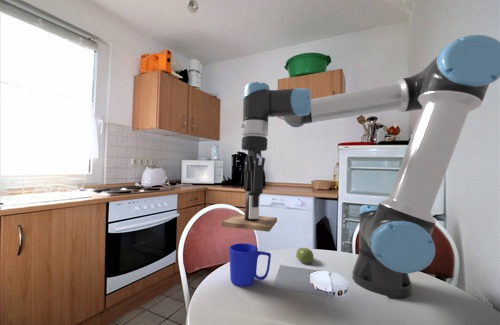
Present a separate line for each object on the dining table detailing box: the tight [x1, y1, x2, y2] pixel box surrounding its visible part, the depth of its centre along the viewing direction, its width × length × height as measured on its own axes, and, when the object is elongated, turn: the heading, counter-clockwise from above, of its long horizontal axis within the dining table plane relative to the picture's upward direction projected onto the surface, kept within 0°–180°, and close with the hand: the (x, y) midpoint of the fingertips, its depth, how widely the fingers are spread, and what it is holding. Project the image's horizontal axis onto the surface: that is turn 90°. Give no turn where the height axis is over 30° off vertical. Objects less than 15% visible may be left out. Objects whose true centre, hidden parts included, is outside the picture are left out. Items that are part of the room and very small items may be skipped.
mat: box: [272, 264, 335, 299], centre depth 68 cm, size 16×16×1 cm
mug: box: [228, 242, 272, 288], centre depth 66 cm, size 8×12×10 cm
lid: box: [221, 191, 278, 232], centre depth 67 cm, size 13×13×9 cm
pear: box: [295, 247, 314, 265], centre depth 84 cm, size 6×5×10 cm
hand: (251, 216), depth 66 cm, fingers closed on lid, 4 cm apart
